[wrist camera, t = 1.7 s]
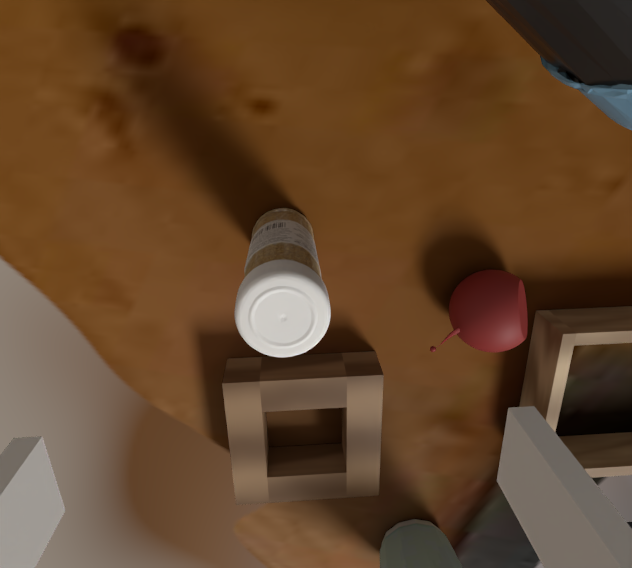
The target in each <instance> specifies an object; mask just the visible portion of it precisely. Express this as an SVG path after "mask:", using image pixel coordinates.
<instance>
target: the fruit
mask: <svg viewBox="0 0 632 568" xmlns="http://www.w3.org/2000/svg"><path fill="white" fill-rule="evenodd" d="M449 317H450V321H451V324H452V326H453V329H454V331H452V332H451V333H450V334H449V335H448V336H447V337H446V338H445V340H444V341H443V342H442V343H444V342H445V341H446V340H447V339H449V338H450V337H452V336H454V335H455V334H457V335H458V336H459V337H460V338H461V339H462V340H463V341H464V342H465V343H467V344H468V345H470V346H471V347H473V348H475V349H478V350H481V351H486V352H502V351H506V350H510V349H512V348H514V347H516V346H518V345H519V344H521V343H522V342H523V341H524V340H525V339H526V337H527V328H528V318H527V303H526V295H525V289H524V285H523V282H522V280H521V279H520V278H518V277H517V276H515V275H513V274H511V273H508V272H505V271H501V270H483V271H479V272H476V273H473V274H471V275H469V276H468V277H466V278H465V279H464V280H462V281H461V282H460V283H459V285H458V286H457V287H456V288H455V290H454V292H453V294H452V296H451V299H450V303H449ZM442 343H441V344H442ZM441 344H440V345H441ZM440 345H439V346H440ZM430 350H431V352H435V351H436V348H435V347H434V346H432V347H431V348H430Z"/></svg>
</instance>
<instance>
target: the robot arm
mask: <svg viewBox="0 0 632 568" xmlns="http://www.w3.org/2000/svg"><path fill="white" fill-rule="evenodd" d="M486 1H487V2H488V3H489V4H490V5H491V6H492V7H493V8H494V9H495V10H496V11H497V12H498V13H499V14H500V15H501V16H502V17H503V18H504V19H505V20H506V21H507V22H508V23H509V24H510V25H511V26H512V27H513V28H514V29H515V30H516V31H517V32H518V33H519V34H520V35H521V36H522V37H523V38H524V39H525V40H526V41H527V43H528V44H529V45H530V46H531V47H532V48H533V49H534V50H535V51H536V52H537V53H538V54H539V55H540V57H541V61H542V65H543V66H544V67H545V68H546V69H547V70H548V71H549V72H550V73H551V75H552V76H553V77H555V78H556V79H558V80H559V81H561V82H562V83H564V84H566V85H568V86H571V87H573V88H575V89H578V90H579V91H580V92H582V93H583V94H584V95H585V96H586V97H587V98H588V99H589V100H591V101H592V102H593V103H594V104H595V105H596V106H597V107H598V108H599V109H600V110H602V111H603V112H604V113H605V114H606V115H607V116H608V117H609V118H611V119H612V120H614V121H615V122H616V123H618V124H620V125H622V126H624V127H626V128H628V129H630V130H632V0H486ZM497 482H498V484H499V486H500V487H501V489H502V491H503V493H504V495H505V497H506V498H507V500H508V502H509V504H510V506H511V508H512V509H513V511H514V513H515V515H516V517H517V519H518V520H519V522H520V524H521V526H522V528H523V530H524V531H525V533H526V535H527V537H528V539H529V541H530V542H531V544H532V546H533V548H534V550H535V552H536V553H537V555H538V557H539V559H540V561H541V563H542V564H543V566H544V568H632V522H626V521H625V520H624V518H623V517H622V516H621V515H620V513H619V512H618V511H617V510H616V508H615V507H614V506H613V505H612V503H611V502H610V501H609V500H608V498H607V497H606V496H605V495H604V494H603V492H602V491H601V490H600V488H599V487H598V486H597V484H596V483H595V482H594V481H593V479H592V478H591V477H590V476H589V474H588V473H587V472H586V471H585V469H584V468H583V467H582V466H581V464H580V463H579V462H578V461H577V459H576V458H575V457H574V456H573V454H572V453H571V452H570V450H569V449H568V448H567V447H566V445H565V444H564V443H563V442H562V440H561V439H560V438H559V437H558V435H557V434H556V433H555V432H554V430H553V429H552V428H551V427H550V425H549V424H548V423H547V422H546V420H545V419H544V418H543V417H542V415H541V414H540V413H539V411H538V410H537V409H536V408H535V406H528V407H512V408H508V413H507V419H506V426H505V432H504V438H503V445H502V451H501V458H500V464H499V470H498V477H497ZM64 512H65V508H64V504H63V501H62V498H61V495H60V492H59V488H58V485H57V482H56V479H55V476H54V472H53V469H52V466H51V463H50V460H49V456H48V453H47V450H46V447H45V443H44V441H43V437H42V436H40V437H23V438H13V440H12V441H11V442H10V443H9V445H8V446H7V447H6V449H5V450H4V451H3V453H2V454H1V455H0V568H35V567H36V565H37V563H38V561H39V559H40V557H41V556H42V554H43V552H44V550H45V548H46V546H47V544H48V542H49V541H50V539H51V537H52V535H53V533H54V531H55V529H56V527H57V525H58V523H59V522H60V520H61V518H62V516H63V514H64Z"/></svg>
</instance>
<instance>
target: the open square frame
mask: <svg viewBox="0 0 632 568" xmlns="http://www.w3.org/2000/svg"><path fill="white" fill-rule="evenodd" d="M614 343H632V306H622V307H601V308H579V309H558V310H537V311H536V313H535V319H534V325H533V330H532V336H531V342H530V348H529V353H528V359H527V365H526V371H525V377H524V382H523V388H522V394H521V400H520V405H519V407H528V406H535V408H536V409H537V410H538V411H539V413H540V414H541V415H542V417H543V418H544V419H545V420H546V422H547V423H548V424H549V425H550V427H551V428H552V429H553V430H554V432H556V427H557V422H558V418H559V413H560V408H561V404H562V399H563V394H564V390H565V385H566V380H567V376H568V371H569V366H570V362H571V357H572V352H573V348H574V346H575V345H594V344H614ZM559 438H560V439H561V440H562V442H563V443H564V444H565V445H566V447H567V448H568V449H569V450H570V452H571V453H572V454H573V456H574V457H575V458H576V459H577V461H578V462H579V463H580V464H581V466H582V467H583V468H584V469H585V471H586V472H587V473H588V474H589V476H590V477H591V478H592V477H607V476H622V475H632V432H625V433H609V434H592V435H576V436H559Z"/></svg>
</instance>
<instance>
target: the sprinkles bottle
mask: <svg viewBox="0 0 632 568" xmlns="http://www.w3.org/2000/svg"><path fill="white" fill-rule="evenodd" d="M330 317H331V309H330V302H329V297H328V292H327V289H326V286H325V284H324V282H323V281H322V279H321V271H320V267H319V262H318V257H317V252H316V247H315V242H314V234H313V229H312V227H311V224H310V222H309V221H308V220H307V219H306V217H305V216H304V215H302V214H301V213H299V212H297V211H295V210H293V209H288V208H278V209H273V210H271V211H268V212H266V213H265V214H264V215H262V216H261V217H260V218H259V219H258V221H257V222H256V225H255V226H254V228H253V232H252V240H251V243H250V247H249V252H248V256H247V261H246V265H245V278H244V280H243V282H242V283H241V285H240V287H239V290H238V294H237V299H236V304H235V321H236V326H237V328H238V331H239V333H240V335H241V336H242V338H243V339H244V340H245V342H246V343H247V344H248V345H249V346H251V347H252V348H254V349H255V350H257V351H258V352H260V353H263V354H265V355H268V356H273V357H292V356H296V355H300V354H302V353H304V352H306V351H308V350H310V349H311V348H313V347H314V346H315V345H316V344H317V343H318V342H319V341H320V340H321V339H322V338H323V336H324V335H325V333H326V331H327V329H328V326H329V323H330Z"/></svg>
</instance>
